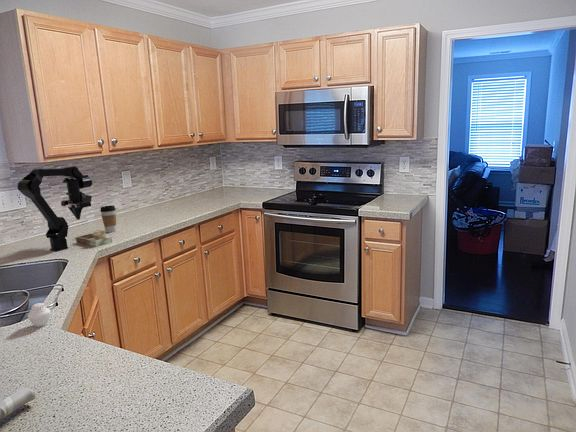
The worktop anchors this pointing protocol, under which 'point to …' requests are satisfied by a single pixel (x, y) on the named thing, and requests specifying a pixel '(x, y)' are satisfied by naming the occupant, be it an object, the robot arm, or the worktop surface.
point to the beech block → (99, 234)
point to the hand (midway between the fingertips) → (78, 219)
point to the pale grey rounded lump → (39, 314)
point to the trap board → (93, 240)
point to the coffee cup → (109, 218)
